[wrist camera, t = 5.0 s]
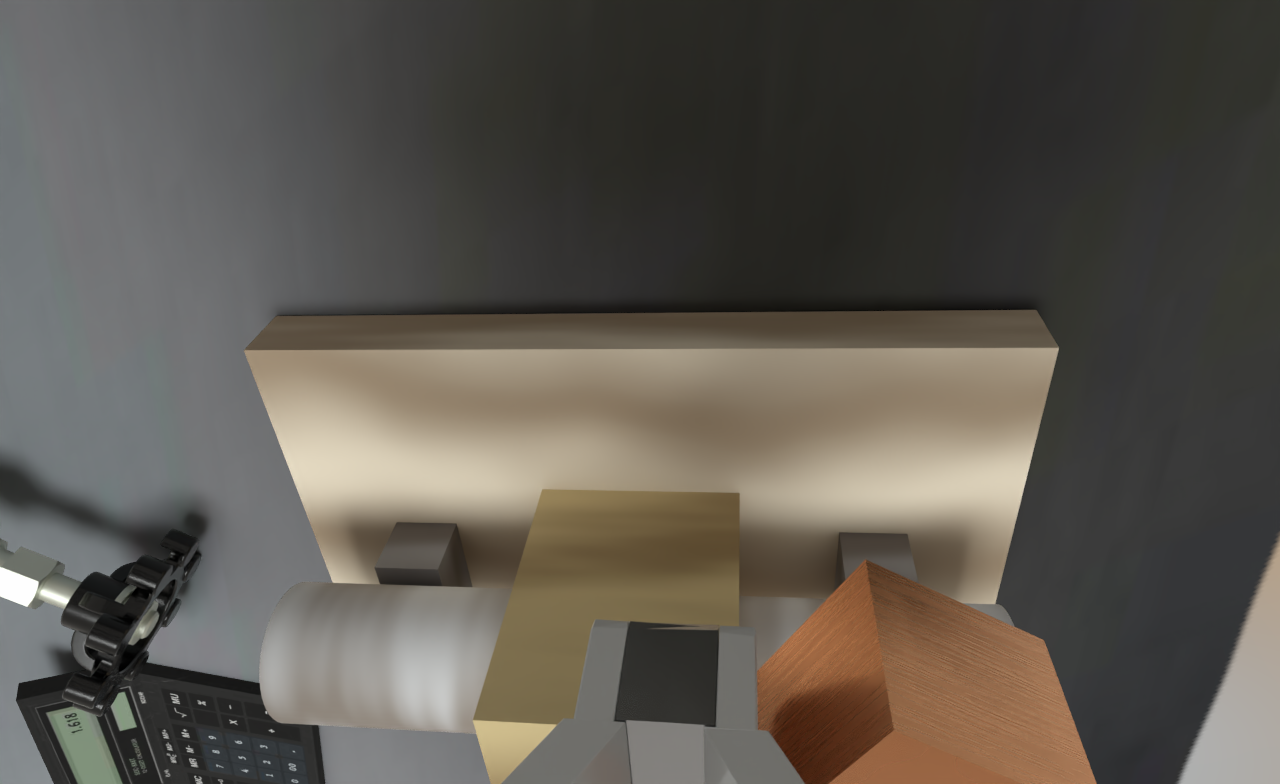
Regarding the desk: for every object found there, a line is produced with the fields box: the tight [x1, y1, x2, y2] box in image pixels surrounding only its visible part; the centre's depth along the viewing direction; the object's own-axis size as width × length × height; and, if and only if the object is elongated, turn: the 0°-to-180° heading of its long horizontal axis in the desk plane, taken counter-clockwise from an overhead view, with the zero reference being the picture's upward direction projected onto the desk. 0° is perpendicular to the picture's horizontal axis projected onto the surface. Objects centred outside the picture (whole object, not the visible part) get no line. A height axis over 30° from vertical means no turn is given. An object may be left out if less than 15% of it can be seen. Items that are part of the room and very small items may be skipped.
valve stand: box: [244, 310, 1059, 784], centre depth 23 cm, size 16×22×13 cm
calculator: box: [16, 663, 325, 784], centre depth 38 cm, size 9×12×3 cm
